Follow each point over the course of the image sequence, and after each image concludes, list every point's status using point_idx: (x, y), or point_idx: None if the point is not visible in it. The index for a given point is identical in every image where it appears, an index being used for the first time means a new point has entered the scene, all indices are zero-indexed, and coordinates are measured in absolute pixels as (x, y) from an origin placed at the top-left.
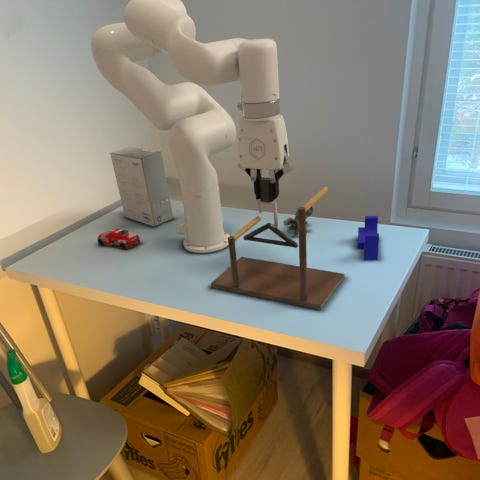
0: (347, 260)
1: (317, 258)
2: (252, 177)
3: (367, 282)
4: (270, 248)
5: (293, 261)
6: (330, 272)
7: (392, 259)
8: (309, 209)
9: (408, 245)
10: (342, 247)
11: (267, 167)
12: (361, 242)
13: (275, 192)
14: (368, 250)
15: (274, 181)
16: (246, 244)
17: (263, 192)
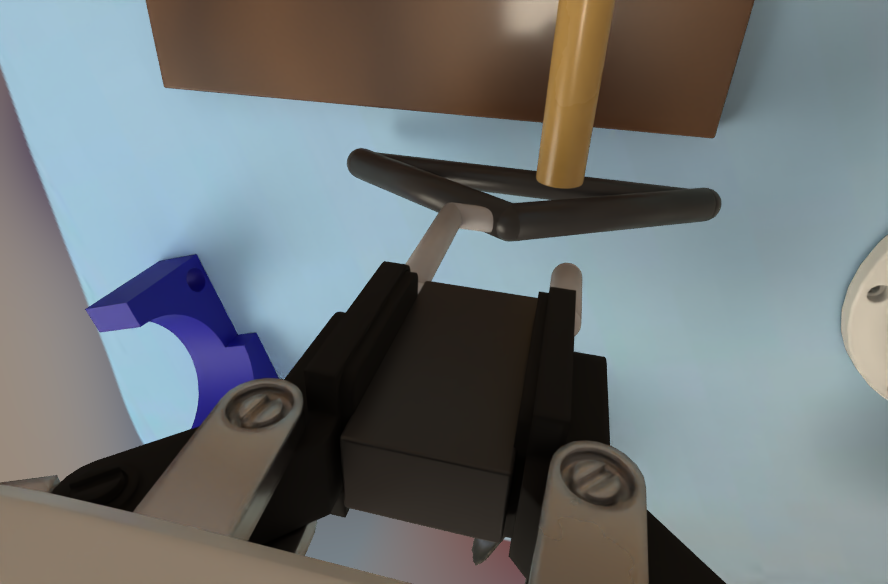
0: (244, 239)
1: (354, 234)
2: (617, 505)
3: (95, 77)
4: (592, 291)
5: None
6: (216, 81)
7: (122, 272)
8: (480, 543)
9: (134, 369)
10: (307, 335)
11: (52, 537)
12: (235, 350)
13: (328, 329)
14: (159, 274)
15: (250, 400)
16: (735, 315)
17: (481, 348)
